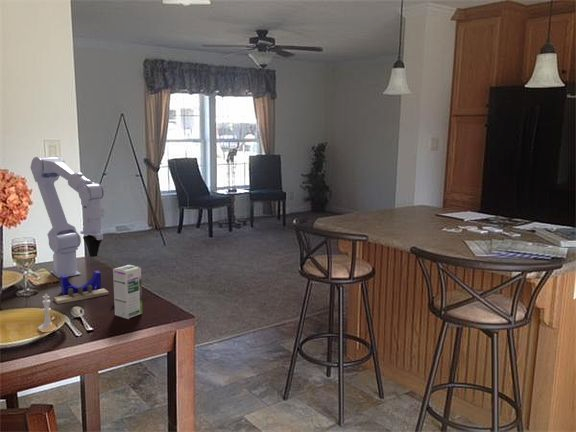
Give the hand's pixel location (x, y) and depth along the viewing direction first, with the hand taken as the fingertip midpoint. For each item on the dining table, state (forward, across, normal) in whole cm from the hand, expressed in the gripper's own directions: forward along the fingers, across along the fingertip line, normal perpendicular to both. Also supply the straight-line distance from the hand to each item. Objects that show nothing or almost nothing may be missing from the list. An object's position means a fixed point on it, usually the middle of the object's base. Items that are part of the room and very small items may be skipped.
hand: (93, 256), depth 181 cm
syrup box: (+10, +37, -3) cm, 38 cm away
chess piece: (+10, +35, -25) cm, 44 cm away
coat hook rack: (+9, +14, -9) cm, 19 cm away
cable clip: (+10, +8, -7) cm, 14 cm away
